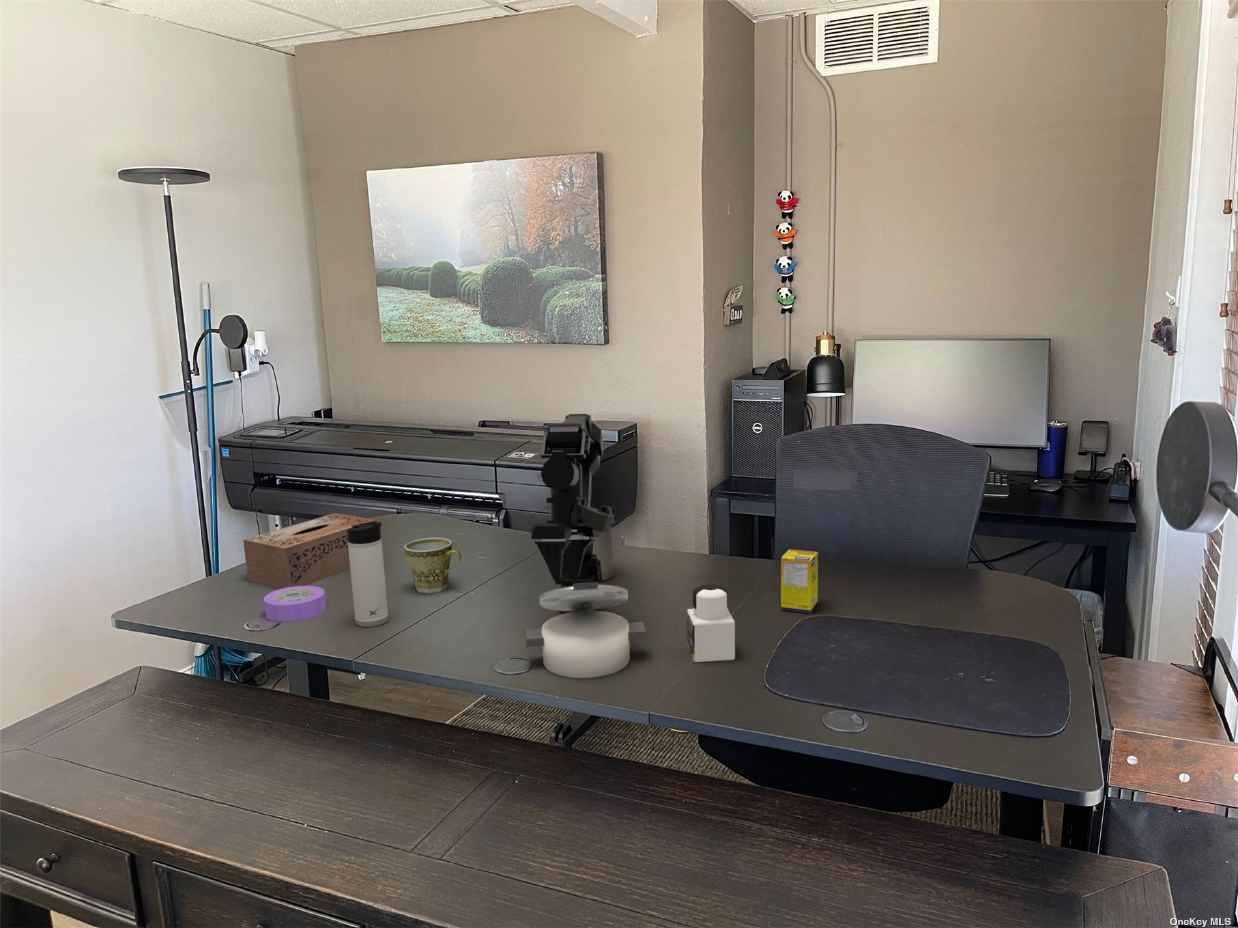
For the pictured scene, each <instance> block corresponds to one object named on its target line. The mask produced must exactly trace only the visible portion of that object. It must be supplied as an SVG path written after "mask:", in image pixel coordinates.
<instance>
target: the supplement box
mask: <svg viewBox="0 0 1238 928" xmlns="http://www.w3.org/2000/svg"><path fill="white" fill-rule="evenodd" d="M818 554H819V552H818V551H810V550H801V549H800V550H799V549H798V550H797V549H788V550H787V551H786V552H785V553H784V554H783V555H782V556H781V558H780V590H781V591H780V598H781V599H780V602H781V603H780V608H781V611H783V612H794V613H803V614H809V615H810V614H812V613H813V611H814V609H815V608H816V606H817V605H818V591H819V589H818V586H819V585H818V583H819V578H818V577H819V575H818V571H819V569H818V567H819V563H818V562H819V558H818V557H819V555H818Z"/></svg>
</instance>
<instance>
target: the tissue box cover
mask: <svg viewBox="0 0 1238 928" xmlns="http://www.w3.org/2000/svg"><path fill="white" fill-rule="evenodd" d="M367 522H377V520H376V519H371V518H366V517H359V516H354V515H347V514H341V513H336V512H335V513H331V514H327V515H323V516H321V517H318V518H314V519H310V520H308V521H304V522H300V523H297V524H294V525H289V526H285V527H283V528H279V529H276V530H272V531H269V532H266V533H265V532H264V533H263V534H262V533H261V534H259V535H255V536H252V537H248V538H244V539H243V549H244V559H245V564H246V565H245V566H246V574H247V581H248V582H250V583H255V584H256V585H257V584H258V585H261V586H266V587H270V588H274V589H277V590H279V589H283V588H288V587H294V586H309V585H311V584H314V583H317V582H319V581H322V580H324V579H328V578H330V577H334V576H335V575H338V574H341V573H344V572H347V571H351V570H350V559H349V549H348V545H349V544H348V535H347V529H350V528H352V526H354V525H357V524H361V523H367Z"/></svg>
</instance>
